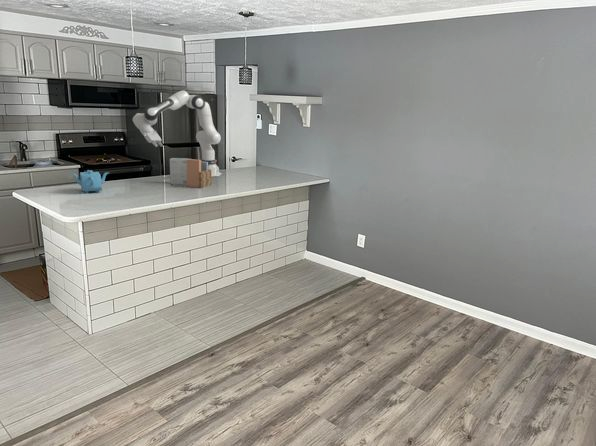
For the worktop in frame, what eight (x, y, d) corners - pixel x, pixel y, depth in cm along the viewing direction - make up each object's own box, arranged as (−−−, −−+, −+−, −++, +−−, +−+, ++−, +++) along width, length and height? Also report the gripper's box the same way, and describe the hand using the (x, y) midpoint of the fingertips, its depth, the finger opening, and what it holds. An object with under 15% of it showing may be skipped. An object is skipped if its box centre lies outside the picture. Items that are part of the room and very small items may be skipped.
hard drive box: (192, 183, 357) (191, 158, 352) (188, 185, 350) (188, 159, 344) (173, 182, 358) (172, 157, 353) (169, 184, 351) (169, 158, 346)
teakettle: (93, 195, 301) (92, 173, 297) (70, 192, 305) (68, 171, 301) (111, 190, 318) (110, 169, 315) (89, 187, 323) (88, 167, 319)
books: (196, 183, 359) (196, 157, 353) (208, 184, 357) (208, 158, 351) (187, 186, 344) (186, 159, 339) (199, 187, 342) (199, 160, 336)
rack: (209, 184, 358) (209, 169, 355) (211, 184, 357) (211, 169, 354) (199, 188, 341) (198, 172, 338) (201, 188, 341) (201, 172, 337)
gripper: (145, 129, 338) (157, 143, 339) (156, 130, 358) (167, 143, 359) (139, 134, 339) (151, 149, 341) (150, 135, 359) (161, 148, 361)
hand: (159, 146), depth 350 cm, fingers open, 8 cm apart
